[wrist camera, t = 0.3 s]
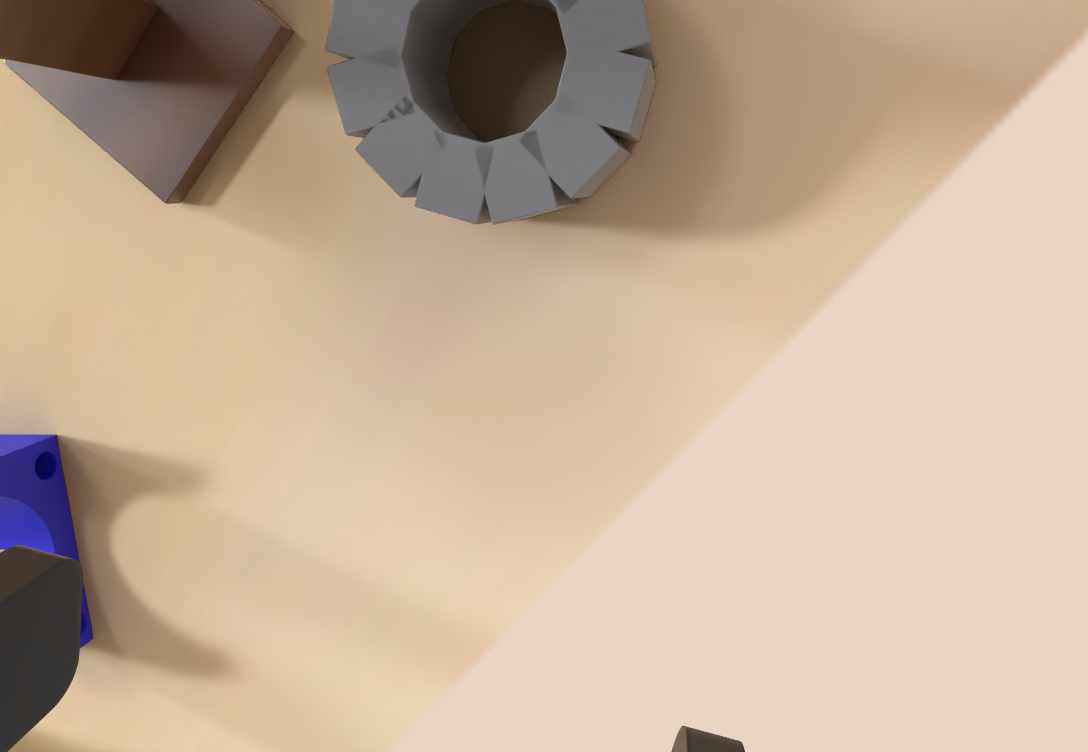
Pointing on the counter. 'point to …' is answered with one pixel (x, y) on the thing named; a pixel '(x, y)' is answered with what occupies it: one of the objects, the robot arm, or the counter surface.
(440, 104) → the grey segmented ring
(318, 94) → the counter surface
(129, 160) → the brown pedestal stand
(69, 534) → the cable clip
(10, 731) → the robot arm
